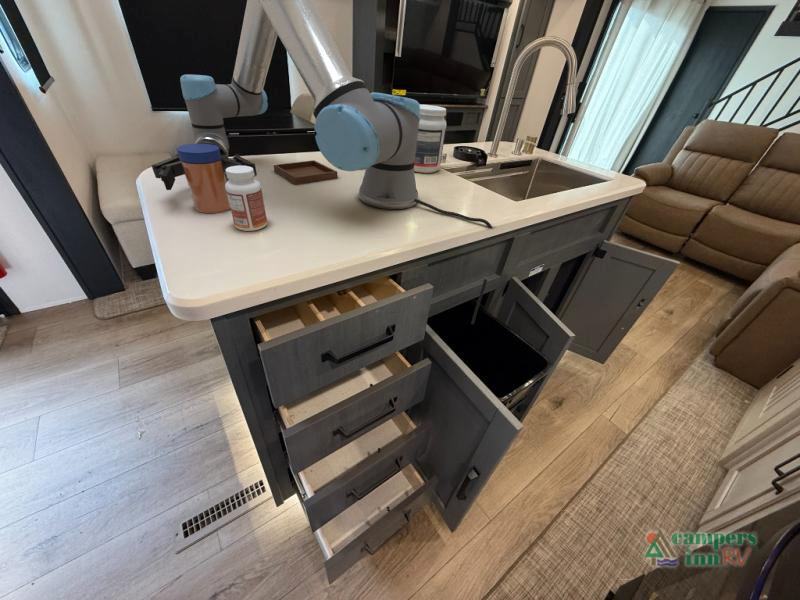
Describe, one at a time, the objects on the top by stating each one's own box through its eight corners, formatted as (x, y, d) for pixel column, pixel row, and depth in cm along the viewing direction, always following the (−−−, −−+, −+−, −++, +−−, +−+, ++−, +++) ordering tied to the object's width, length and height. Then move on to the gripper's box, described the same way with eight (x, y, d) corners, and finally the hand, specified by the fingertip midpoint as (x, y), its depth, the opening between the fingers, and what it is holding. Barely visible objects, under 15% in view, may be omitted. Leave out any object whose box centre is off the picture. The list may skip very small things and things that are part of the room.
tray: (337, 178, 94) (337, 171, 93) (296, 184, 87) (295, 177, 86) (314, 166, 102) (314, 160, 101) (274, 171, 94) (273, 164, 93)
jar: (237, 209, 71) (224, 153, 64) (201, 215, 67) (183, 156, 60) (225, 198, 75) (212, 145, 68) (191, 204, 71) (173, 147, 64)
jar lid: (226, 160, 65) (224, 150, 64) (185, 165, 61) (182, 154, 60) (214, 152, 69) (211, 142, 68) (174, 155, 65) (171, 145, 64)
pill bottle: (265, 217, 69) (256, 163, 62) (269, 230, 64) (259, 173, 58) (234, 220, 67) (220, 164, 60) (235, 233, 62) (221, 174, 55)
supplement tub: (411, 161, 117) (417, 102, 106) (444, 168, 113) (454, 108, 102) (396, 168, 108) (400, 105, 96) (431, 176, 104) (440, 111, 93)
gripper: (266, 169, 87) (272, 197, 71) (158, 171, 78) (138, 203, 63) (261, 138, 82) (266, 161, 67) (146, 137, 74) (122, 163, 58)
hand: (204, 182), depth 65 cm, fingers open, 12 cm apart
